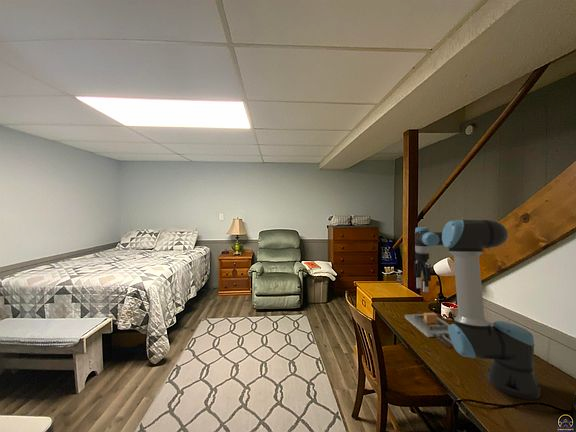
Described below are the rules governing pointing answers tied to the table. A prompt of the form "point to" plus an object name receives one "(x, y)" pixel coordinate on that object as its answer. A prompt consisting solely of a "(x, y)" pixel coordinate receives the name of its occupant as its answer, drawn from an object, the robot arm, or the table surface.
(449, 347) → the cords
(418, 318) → the panel
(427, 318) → the light brown block
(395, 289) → the table surface
